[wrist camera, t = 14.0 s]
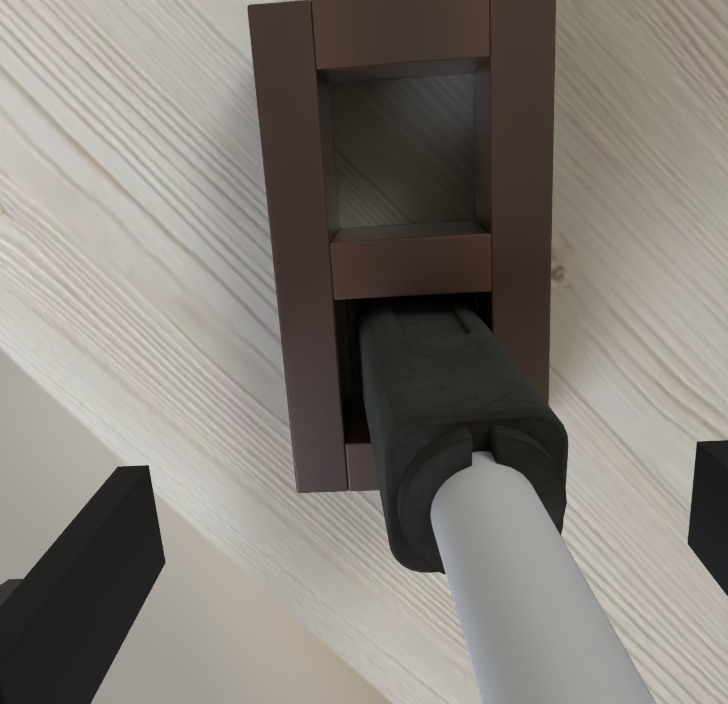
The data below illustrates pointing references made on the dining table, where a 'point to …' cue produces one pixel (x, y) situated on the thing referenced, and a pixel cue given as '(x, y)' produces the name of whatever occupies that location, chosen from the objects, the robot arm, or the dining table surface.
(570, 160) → the dining table surface
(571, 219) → the dining table surface
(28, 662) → the robot arm
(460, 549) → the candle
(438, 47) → the rack
